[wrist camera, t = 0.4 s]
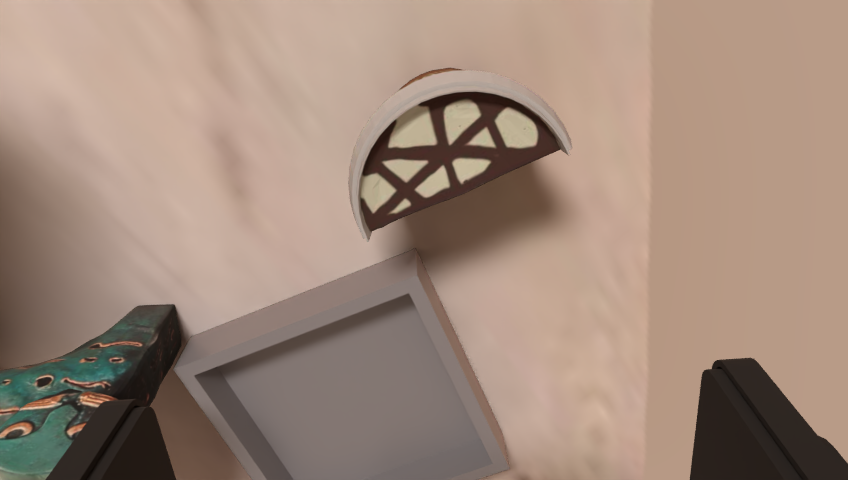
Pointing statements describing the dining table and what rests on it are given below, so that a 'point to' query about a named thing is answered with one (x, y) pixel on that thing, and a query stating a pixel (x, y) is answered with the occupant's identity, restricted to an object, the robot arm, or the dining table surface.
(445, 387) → the tray
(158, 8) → the dining table surface
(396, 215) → the food container
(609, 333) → the dining table surface
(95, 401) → the teal animal figurine
